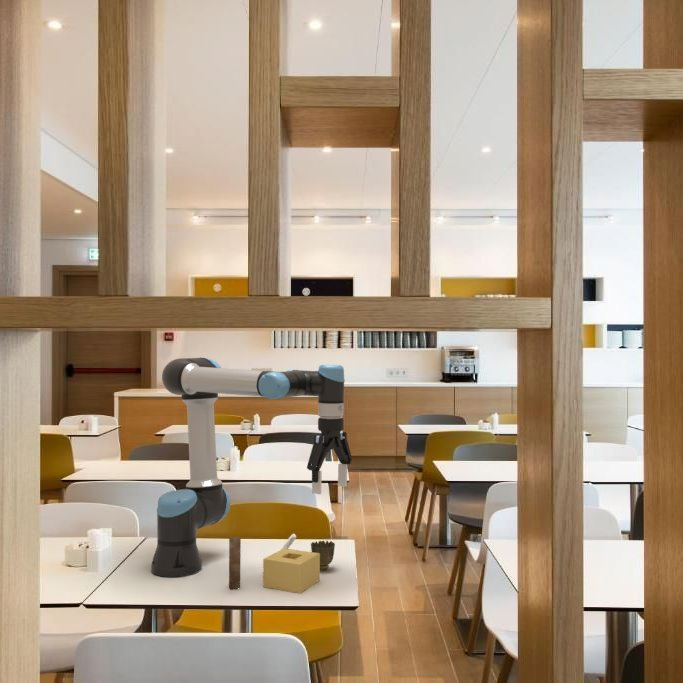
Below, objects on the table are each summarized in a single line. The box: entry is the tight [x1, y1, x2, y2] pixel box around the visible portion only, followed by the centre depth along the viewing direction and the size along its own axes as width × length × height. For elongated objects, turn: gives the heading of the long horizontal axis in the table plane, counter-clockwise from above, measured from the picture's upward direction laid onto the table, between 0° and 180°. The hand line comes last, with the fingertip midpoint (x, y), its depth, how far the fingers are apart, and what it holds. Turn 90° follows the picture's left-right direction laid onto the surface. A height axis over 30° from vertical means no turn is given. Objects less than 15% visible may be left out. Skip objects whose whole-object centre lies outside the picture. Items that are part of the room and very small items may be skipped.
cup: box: [310, 540, 336, 571], centre depth 223 cm, size 8×7×8 cm
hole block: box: [262, 548, 321, 594], centre depth 210 cm, size 12×12×8 cm
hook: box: [280, 533, 297, 550], centre depth 227 cm, size 8×12×7 cm
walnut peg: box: [228, 536, 242, 590], centre depth 206 cm, size 3×3×14 cm
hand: (329, 489), depth 213 cm, fingers open, 13 cm apart
